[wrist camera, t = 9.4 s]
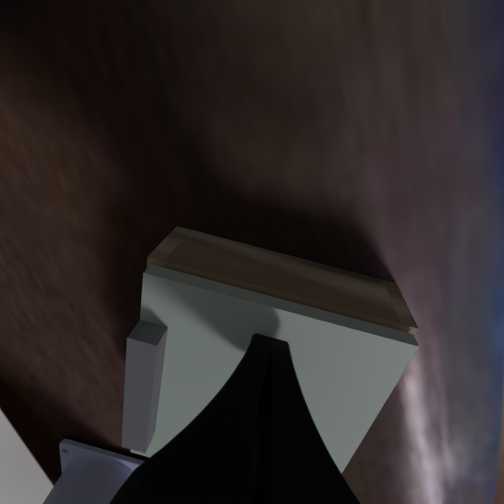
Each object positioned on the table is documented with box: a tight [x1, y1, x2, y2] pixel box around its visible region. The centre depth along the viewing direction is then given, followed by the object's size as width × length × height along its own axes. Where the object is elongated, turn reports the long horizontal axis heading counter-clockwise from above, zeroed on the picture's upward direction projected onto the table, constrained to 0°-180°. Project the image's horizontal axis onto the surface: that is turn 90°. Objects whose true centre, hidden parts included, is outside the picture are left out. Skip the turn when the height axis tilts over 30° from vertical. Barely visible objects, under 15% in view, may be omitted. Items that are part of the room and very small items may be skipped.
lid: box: [122, 264, 419, 474], centre depth 15 cm, size 12×11×2 cm
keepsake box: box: [147, 226, 419, 336], centre depth 17 cm, size 12×11×3 cm
